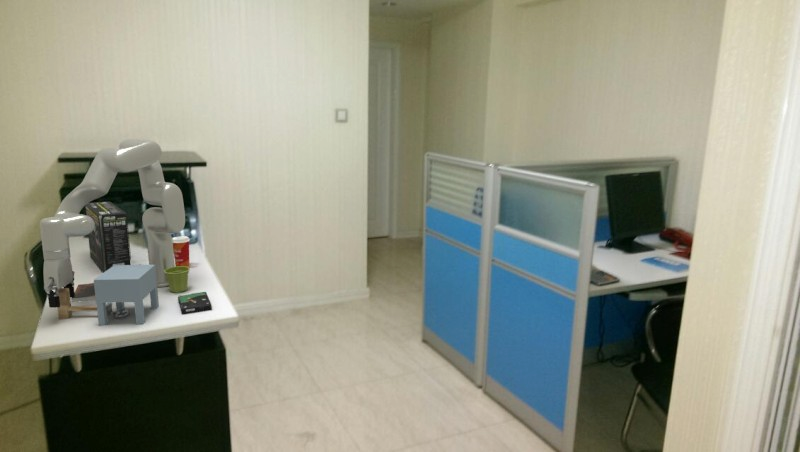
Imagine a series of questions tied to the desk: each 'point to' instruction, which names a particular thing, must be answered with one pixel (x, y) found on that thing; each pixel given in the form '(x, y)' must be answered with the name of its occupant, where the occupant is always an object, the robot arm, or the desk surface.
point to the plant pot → (177, 278)
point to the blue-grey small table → (126, 289)
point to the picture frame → (84, 293)
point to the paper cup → (181, 250)
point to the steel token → (121, 313)
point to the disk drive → (194, 303)
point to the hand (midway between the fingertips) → (62, 302)
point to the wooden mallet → (66, 308)
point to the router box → (108, 235)
